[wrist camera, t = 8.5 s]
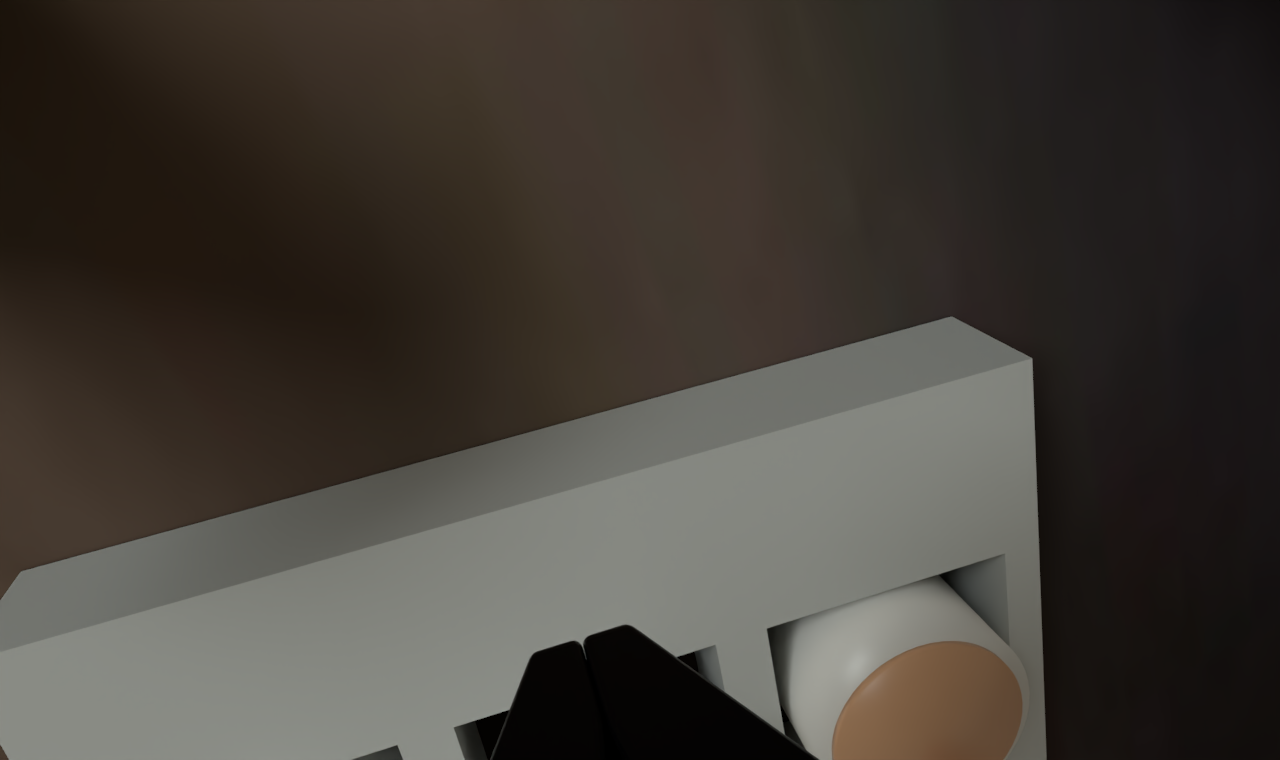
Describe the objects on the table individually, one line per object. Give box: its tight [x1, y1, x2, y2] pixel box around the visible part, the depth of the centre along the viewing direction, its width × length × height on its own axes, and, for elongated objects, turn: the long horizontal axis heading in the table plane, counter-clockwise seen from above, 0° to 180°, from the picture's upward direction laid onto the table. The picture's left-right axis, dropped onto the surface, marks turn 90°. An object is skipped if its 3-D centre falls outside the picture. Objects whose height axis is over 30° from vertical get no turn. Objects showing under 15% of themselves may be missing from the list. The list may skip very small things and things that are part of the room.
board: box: [0, 317, 1047, 760], centre depth 21 cm, size 20×14×3 cm
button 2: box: [767, 575, 1030, 760], centre depth 21 cm, size 5×5×4 cm
